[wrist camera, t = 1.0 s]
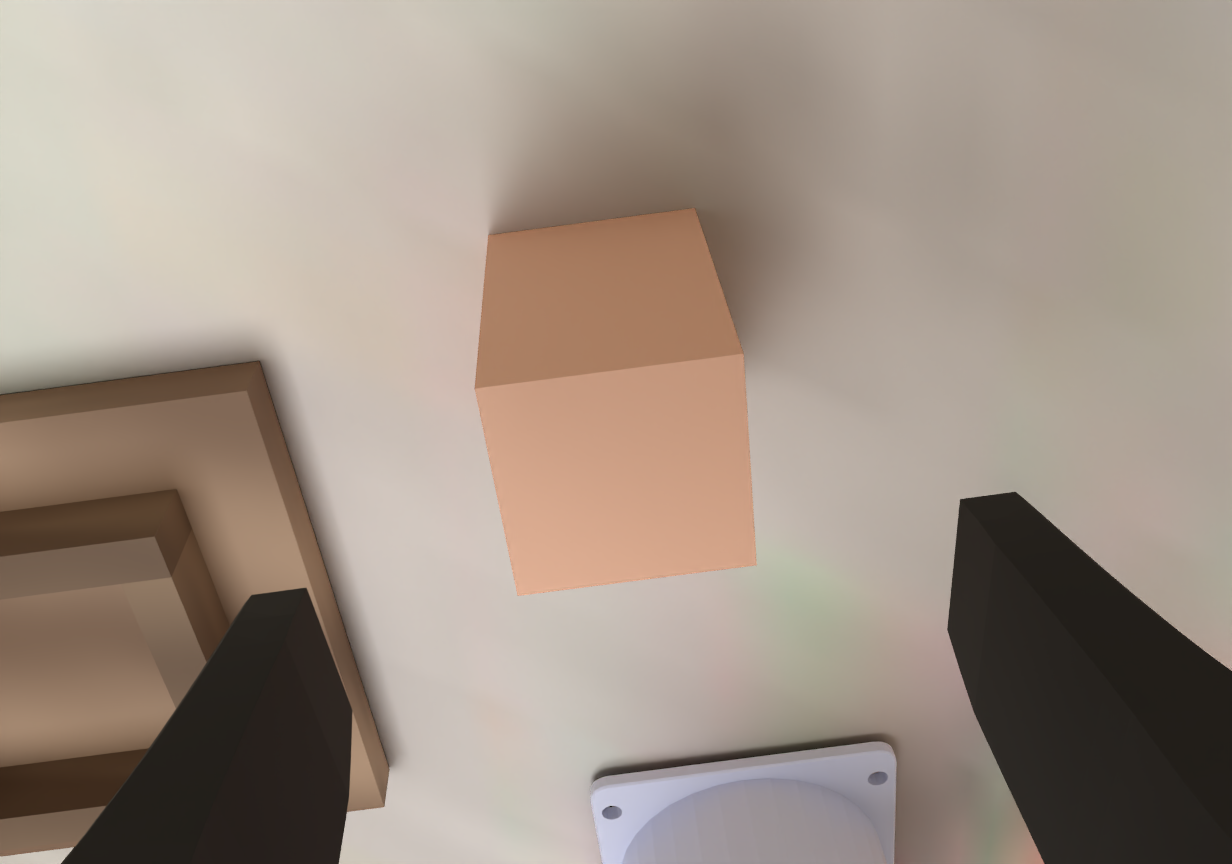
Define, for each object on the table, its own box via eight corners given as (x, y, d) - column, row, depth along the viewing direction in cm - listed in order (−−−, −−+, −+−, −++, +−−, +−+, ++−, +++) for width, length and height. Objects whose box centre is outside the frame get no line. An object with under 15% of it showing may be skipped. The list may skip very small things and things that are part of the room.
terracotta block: (709, 387, 24) (756, 565, 19) (521, 412, 24) (517, 596, 19) (694, 208, 22) (743, 353, 17) (488, 234, 22) (474, 388, 17)
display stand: (389, 769, 29) (376, 861, 27) (-73, 828, 29) (-126, 925, 27) (259, 360, 23) (228, 434, 21) (-330, 438, 23) (-428, 520, 21)
